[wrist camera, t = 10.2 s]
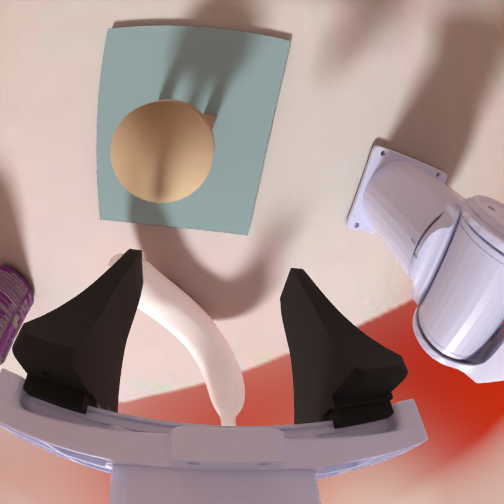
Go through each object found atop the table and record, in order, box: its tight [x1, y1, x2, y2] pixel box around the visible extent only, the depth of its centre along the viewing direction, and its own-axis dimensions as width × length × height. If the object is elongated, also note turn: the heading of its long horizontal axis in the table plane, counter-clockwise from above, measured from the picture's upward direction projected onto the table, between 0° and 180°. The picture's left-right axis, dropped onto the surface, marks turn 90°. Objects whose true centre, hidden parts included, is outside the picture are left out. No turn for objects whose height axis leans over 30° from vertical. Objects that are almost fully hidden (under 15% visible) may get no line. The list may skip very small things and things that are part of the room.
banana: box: [109, 254, 245, 426], centre depth 22 cm, size 5×19×15 cm, turn 32°
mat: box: [97, 25, 290, 235], centre depth 18 cm, size 13×16×1 cm
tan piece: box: [110, 99, 216, 203], centre depth 15 cm, size 5×5×7 cm
